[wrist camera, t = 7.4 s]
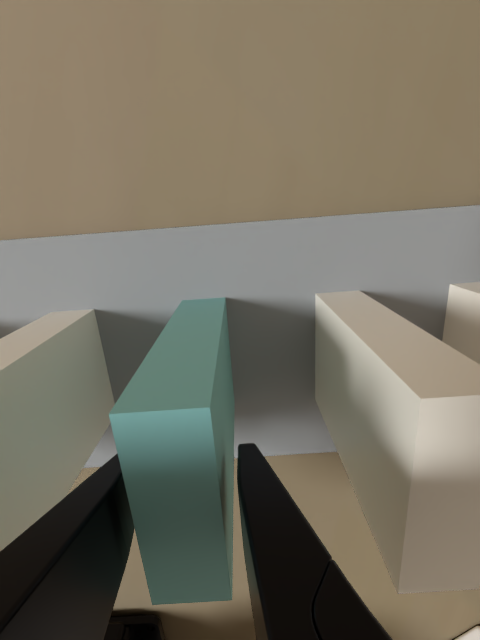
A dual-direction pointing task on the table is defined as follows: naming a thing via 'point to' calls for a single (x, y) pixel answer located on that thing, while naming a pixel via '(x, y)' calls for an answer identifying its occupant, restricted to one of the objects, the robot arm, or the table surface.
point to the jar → (470, 634)
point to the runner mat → (244, 298)
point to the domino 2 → (182, 456)
